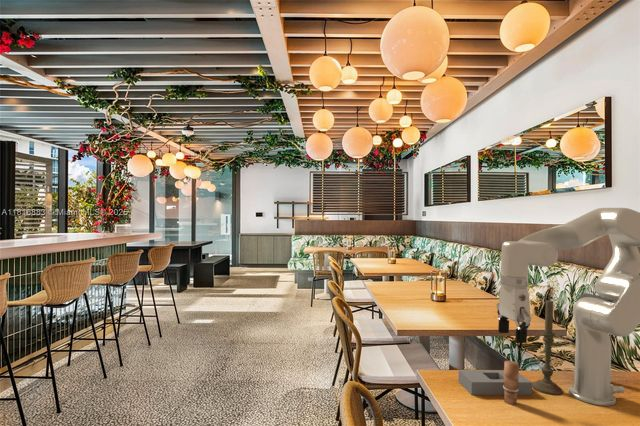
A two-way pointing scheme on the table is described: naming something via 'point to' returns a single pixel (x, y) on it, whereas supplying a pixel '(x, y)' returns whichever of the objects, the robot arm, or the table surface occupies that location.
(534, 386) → the candlestick holder
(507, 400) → the dowel
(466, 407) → the table surface
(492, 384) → the seat board
